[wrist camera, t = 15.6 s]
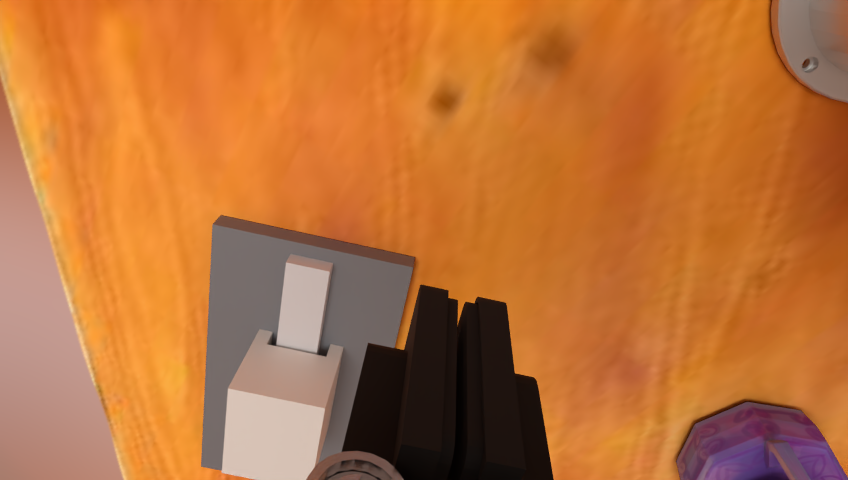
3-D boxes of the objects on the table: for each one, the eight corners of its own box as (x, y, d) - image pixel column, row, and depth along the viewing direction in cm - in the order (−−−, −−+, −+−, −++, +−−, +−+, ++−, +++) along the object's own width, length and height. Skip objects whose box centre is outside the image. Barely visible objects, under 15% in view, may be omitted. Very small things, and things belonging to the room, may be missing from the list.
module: (343, 346, 43) (325, 408, 38) (329, 423, 47) (310, 490, 41) (259, 329, 43) (227, 388, 37) (251, 407, 47) (221, 472, 41)
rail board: (415, 257, 41) (411, 276, 39) (361, 483, 52) (356, 509, 50) (221, 215, 41) (205, 232, 38) (207, 453, 52) (195, 477, 49)
